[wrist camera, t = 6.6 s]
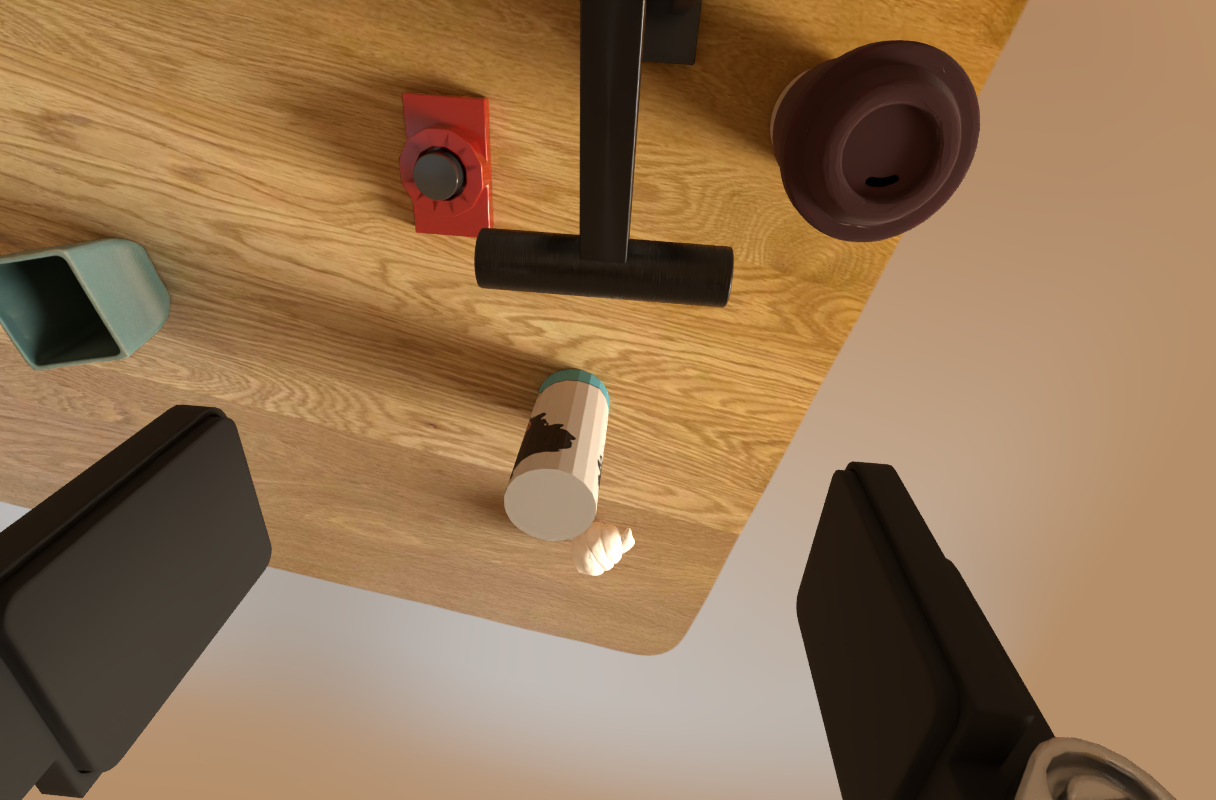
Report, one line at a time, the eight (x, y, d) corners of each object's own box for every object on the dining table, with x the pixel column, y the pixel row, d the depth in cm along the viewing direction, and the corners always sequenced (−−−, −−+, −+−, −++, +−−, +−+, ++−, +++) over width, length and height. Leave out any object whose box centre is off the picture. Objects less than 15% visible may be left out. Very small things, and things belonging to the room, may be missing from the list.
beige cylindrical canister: (525, 383, 56) (486, 484, 43) (591, 358, 55) (571, 456, 42) (557, 440, 59) (530, 550, 46) (621, 418, 57) (611, 526, 45)
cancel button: (418, 148, 44) (410, 151, 43) (462, 151, 44) (455, 155, 42) (423, 193, 46) (415, 198, 44) (465, 197, 46) (459, 202, 44)
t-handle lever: (720, 272, 16) (725, 333, 14) (494, 254, 16) (473, 312, 15) (870, -444, 8) (919, -492, 6) (410, -465, 8) (341, -518, 6)
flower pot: (151, 216, 51) (61, 248, 43) (203, 315, 55) (129, 359, 47) (60, 231, 52) (-44, 265, 44) (117, 326, 56) (32, 372, 48)
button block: (406, 91, 45) (391, 94, 42) (489, 97, 44) (479, 100, 42) (420, 228, 50) (407, 239, 47) (494, 234, 49) (485, 245, 47)
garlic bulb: (642, 538, 65) (641, 576, 60) (591, 551, 66) (586, 589, 62) (624, 500, 62) (622, 537, 58) (571, 514, 64) (564, 551, 59)
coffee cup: (807, 10, 40) (879, -5, 28) (924, 90, 42) (1043, 111, 29) (723, 150, 45) (750, 193, 32) (832, 216, 47) (899, 283, 34)
